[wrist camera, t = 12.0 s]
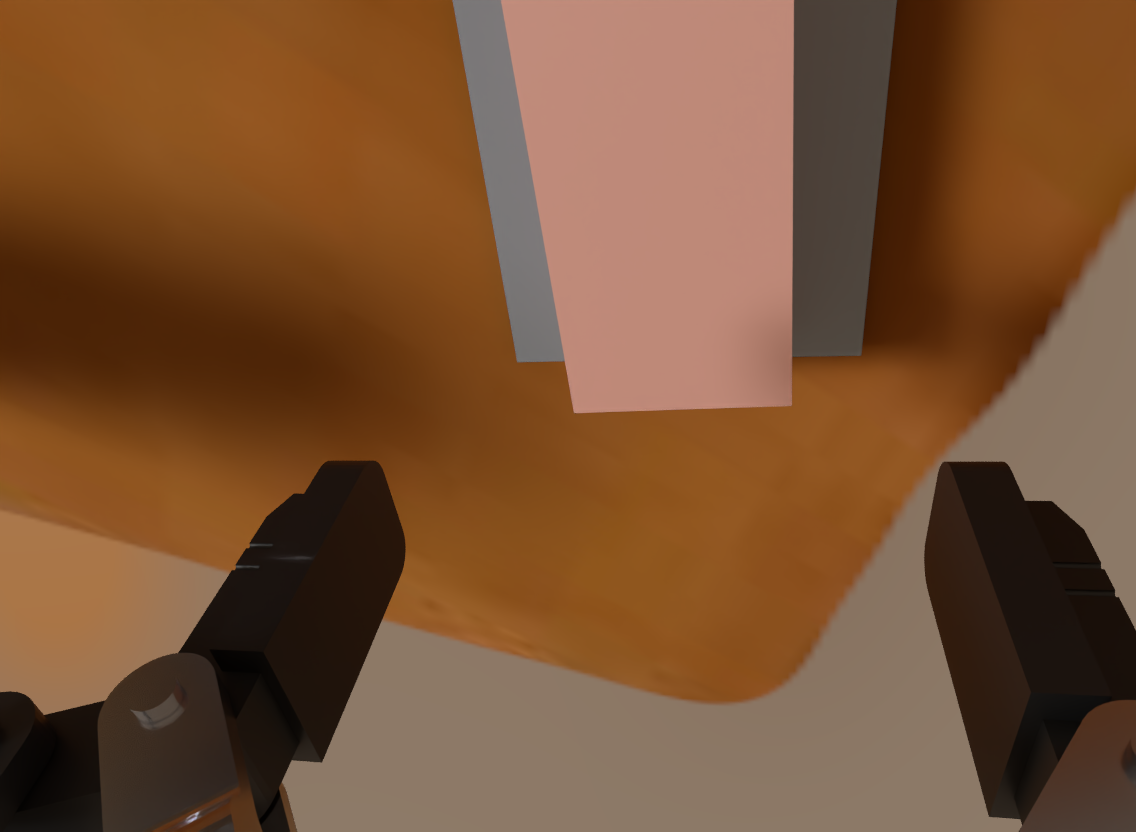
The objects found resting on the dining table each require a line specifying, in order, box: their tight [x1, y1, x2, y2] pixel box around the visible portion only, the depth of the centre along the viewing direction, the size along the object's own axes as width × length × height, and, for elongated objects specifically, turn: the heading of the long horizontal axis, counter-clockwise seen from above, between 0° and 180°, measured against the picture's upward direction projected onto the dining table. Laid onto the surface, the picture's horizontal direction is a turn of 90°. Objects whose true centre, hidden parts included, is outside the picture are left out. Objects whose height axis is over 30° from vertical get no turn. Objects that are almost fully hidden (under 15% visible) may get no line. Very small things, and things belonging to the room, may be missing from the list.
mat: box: [453, 0, 897, 362], centre depth 17 cm, size 15×9×1 cm, turn 7°
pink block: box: [501, 0, 794, 413], centre depth 16 cm, size 14×5×3 cm, turn 9°
